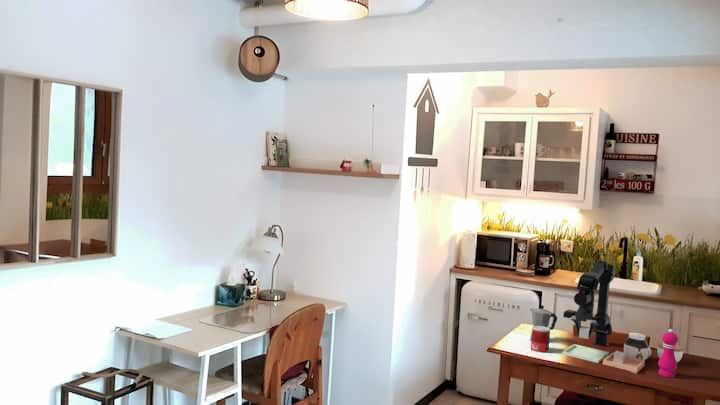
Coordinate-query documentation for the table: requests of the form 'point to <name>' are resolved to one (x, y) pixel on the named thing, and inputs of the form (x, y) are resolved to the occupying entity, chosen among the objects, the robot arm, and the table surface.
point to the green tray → (585, 353)
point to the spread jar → (637, 346)
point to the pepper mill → (668, 355)
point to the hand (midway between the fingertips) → (584, 335)
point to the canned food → (540, 339)
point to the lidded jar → (677, 352)
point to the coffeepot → (542, 318)
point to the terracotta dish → (625, 363)
